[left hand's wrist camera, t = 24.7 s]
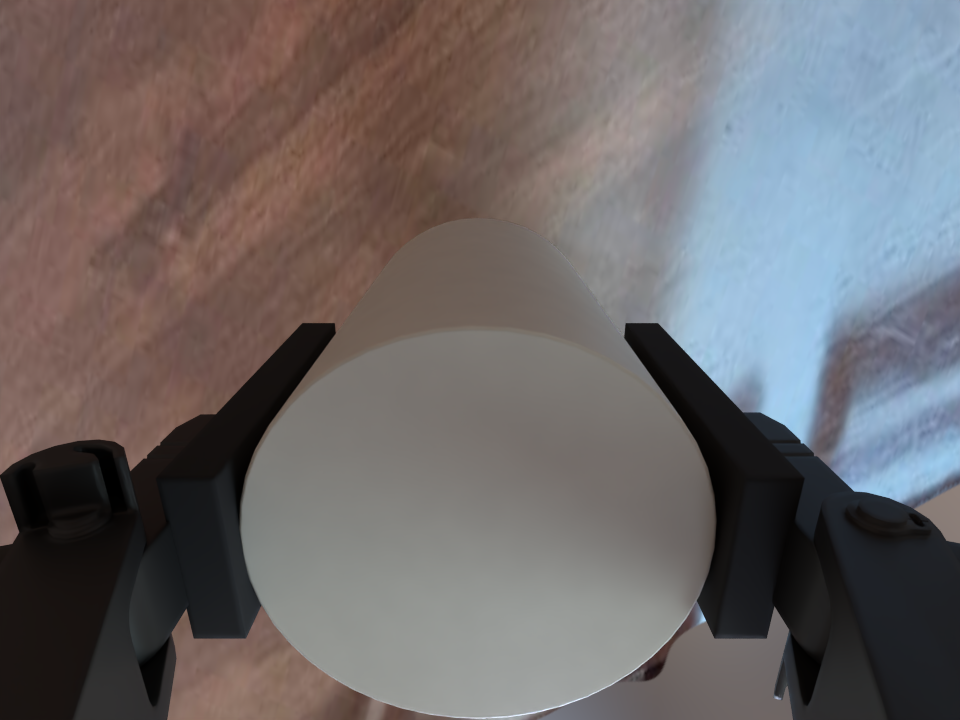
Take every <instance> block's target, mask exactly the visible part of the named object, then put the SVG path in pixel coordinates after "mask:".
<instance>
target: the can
mask: <svg viewBox="0 0 960 720" xmlns="http://www.w3.org/2000/svg"><path fill="white" fill-rule="evenodd" d="M716 522H717V519H716V508H715V496H714V491H713V487H712V483H711V479H710V475H709V471H708V467H707V465H706V463H705V461H704V458H703V456H702V454H701V451H700V449H699V447H698V444H697V442H696V441H695V439H694V437H693V436H692V434H691V433H690V431H689V430H688V428H687V426H686V425H685V423H684V422H683V420H682V419H681V417H680V416H679V414H678V413H677V412H676V410H675V409H674V407H673V406H672V405H671V403H670V402H669V400H668V399H667V398H666V396H665V395H664V393H663V392H662V391H661V389H660V388H659V386H658V385H657V384H656V382H655V381H654V379H653V378H652V377H651V375H650V374H649V372H648V371H647V370H646V368H645V367H644V365H643V364H642V363H641V361H640V360H639V358H638V357H637V356H636V354H635V353H634V351H633V350H632V349H631V347H630V346H629V344H628V343H627V342H626V340H625V339H624V337H623V336H622V335H621V333H620V332H619V330H618V329H617V327H616V326H615V325H614V323H613V322H612V320H611V319H610V318H609V316H608V315H607V313H606V312H605V311H604V309H603V308H602V306H601V305H600V304H599V302H598V301H597V299H596V298H595V297H594V295H593V294H592V292H591V291H590V290H589V288H588V287H587V285H586V284H585V283H584V281H583V280H582V278H581V277H580V276H579V274H578V273H577V271H576V270H575V269H574V267H573V266H572V264H571V263H570V262H569V261H568V260H567V258H566V257H565V256H564V255H563V254H562V253H561V251H559V250H558V249H557V248H556V247H555V246H554V245H553V244H552V243H550V242H549V241H548V240H546V239H545V238H543V237H542V236H540V235H539V234H537V233H536V232H533V231H531V230H529V229H527V228H525V227H523V226H520V225H517V224H514V223H511V222H508V221H503V220H497V219H491V218H469V219H460V220H455V221H451V222H446V223H443V224H441V225H438V226H435V227H433V228H430V229H428V230H426V231H425V232H423V233H421V234H419V235H417V236H416V237H414V238H413V239H412V240H410V241H409V242H408V243H406V244H405V245H404V246H403V247H402V248H401V249H400V250H399V251H398V252H397V253H395V254H394V256H393V257H392V258H391V259H390V261H389V262H388V263H387V265H386V266H385V267H384V268H383V270H382V271H381V273H380V274H379V275H378V277H377V278H376V279H375V281H374V282H373V284H372V285H371V286H370V288H369V289H368V290H367V292H366V293H365V294H364V296H363V297H362V299H361V300H360V301H359V303H358V304H357V305H356V307H355V308H354V310H353V311H352V312H351V314H350V315H349V316H348V318H347V319H346V320H345V322H344V323H343V325H342V326H341V327H340V329H339V330H338V331H337V333H336V334H335V336H334V337H333V338H332V340H331V341H330V342H329V344H328V345H327V346H326V348H325V349H324V351H323V352H322V353H321V355H320V356H319V357H318V359H317V360H316V362H315V363H314V364H313V366H312V367H311V368H310V370H309V371H308V372H307V374H306V375H305V377H304V378H303V379H302V381H301V382H300V383H299V385H298V386H297V388H296V389H295V390H294V392H293V393H292V394H291V396H290V397H289V398H288V400H287V401H286V403H285V404H284V405H283V407H282V408H281V409H280V411H279V412H278V414H277V415H276V416H275V418H274V419H273V420H272V422H271V423H270V424H269V426H268V428H267V430H266V431H265V433H264V435H263V437H262V438H261V440H260V442H259V444H258V445H257V447H256V449H255V451H254V454H253V456H252V459H251V462H250V464H249V467H248V470H247V472H246V475H245V479H244V485H243V490H242V495H241V500H240V519H239V530H240V536H241V542H242V548H243V553H244V559H245V564H246V568H247V573H248V576H249V580H250V582H251V584H252V586H253V588H254V591H255V593H256V595H257V597H258V599H259V601H260V603H261V605H262V607H263V608H264V610H265V611H266V613H267V614H268V616H269V617H270V619H271V621H272V622H273V624H274V625H275V626H276V627H277V629H278V630H279V631H280V632H281V633H282V634H283V636H284V637H285V638H286V639H287V640H288V642H289V643H290V644H291V645H292V646H293V647H294V648H296V649H297V650H298V651H299V652H300V653H301V654H302V655H303V656H304V657H305V658H306V659H307V660H309V661H310V662H311V663H312V664H314V665H315V666H317V667H318V668H319V669H321V670H322V671H323V672H325V673H326V674H328V675H329V676H330V677H332V678H334V679H336V680H337V681H339V682H341V683H343V684H344V685H346V686H348V687H350V688H351V689H353V690H355V691H358V692H360V693H362V694H364V695H367V696H369V697H371V698H373V699H376V700H378V701H381V702H384V703H387V704H391V705H394V706H397V707H400V708H403V709H407V710H412V711H416V712H421V713H425V714H431V715H439V716H447V717H455V718H498V717H511V716H518V715H524V714H531V713H536V712H540V711H544V710H548V709H552V708H556V707H560V706H563V705H566V704H569V703H572V702H574V701H577V700H580V699H583V698H585V697H588V696H590V695H592V694H594V693H596V692H598V691H600V690H602V689H604V688H606V687H609V686H611V685H612V684H614V683H615V682H617V681H619V680H620V679H622V678H624V677H625V676H627V675H628V674H630V673H632V672H633V671H634V670H636V669H637V668H638V667H639V666H641V665H642V664H643V663H645V662H646V661H647V660H648V659H650V658H651V657H652V656H653V655H654V654H655V653H656V652H657V651H658V650H659V649H660V648H661V647H662V646H663V645H664V644H665V643H666V642H667V641H668V640H669V639H670V638H671V637H672V636H673V635H674V633H675V632H676V631H677V629H678V628H679V627H680V626H681V624H682V623H683V622H684V621H685V619H686V618H687V616H688V614H689V613H690V611H691V609H692V608H693V606H694V604H695V602H696V601H697V599H698V597H699V595H700V593H701V590H702V588H703V585H704V583H705V580H706V578H707V576H708V573H709V569H710V565H711V561H712V556H713V552H714V548H715V535H716Z"/></svg>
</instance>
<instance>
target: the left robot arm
mask: <svg viewBox="0 0 960 720" xmlns="http://www.w3.org/2000/svg"><path fill="white" fill-rule="evenodd" d="M335 334H336V332H335V323H302V324H301V325H300V326H299V327H298V328H297V330H296V331H295V332H294V333H293V334H292V335H291V336H290V337H289V338H288V339H287V340H286V341H285V342H284V343H283V344H282V345H281V346H280V347H279V349H278V350H277V351H276V352H275V353H274V354H273V355H272V356H271V357H270V358H269V359H268V360H267V361H266V362H265V363H264V364H263V365H262V366H261V367H260V369H259V370H258V371H257V372H256V373H255V374H254V375H253V376H252V377H251V378H250V379H249V380H248V381H247V382H246V383H245V384H244V385H243V386H242V387H241V389H240V390H239V391H238V392H237V393H236V394H235V395H234V396H233V397H232V398H231V399H230V400H229V401H228V402H227V403H226V404H225V405H224V406H223V407H222V409H221V410H220V411H219V412H218V413H217V414H208V415H199V416H197V417H195V418H193V419H191V420H189V421H188V422H186V423H184V424H182V425H180V426H178V427H176V428H175V429H174V430H173V431H172V432H171V433H170V434H169V435H168V436H167V437H166V438H165V439H164V440H163V441H162V442H161V444H160V446H156V447H155V448H154V449H153V450H152V451H151V452H150V453H149V454H148V455H147V459H143V460H142V461H141V462H140V463H139V464H138V465H137V466H136V467H135V468H133V469H132V470H131V471H130V469H129V466H128V462H127V458H126V454H125V450H124V447H122V446H121V445H119V444H117V443H116V442H112V441H105V440H86V441H76V442H71V443H67V444H62V445H57V446H54V447H51V448H48V449H45V450H42V451H39V452H37V453H34V454H31V455H29V456H28V457H26V458H24V459H22V460H20V461H18V462H16V463H14V464H12V465H11V466H10V467H9V468H8V469H7V470H6V471H4V472H3V473H2V474H1V475H0V478H1V481H2V484H3V487H4V490H5V493H6V496H7V498H8V501H9V504H10V507H11V510H12V513H13V515H14V518H15V521H16V524H17V527H18V530H19V534H18V536H17V537H16V539H15V541H14V542H13V544H10V545H5V546H0V720H167V717H168V711H169V704H170V697H171V691H172V684H173V678H174V671H175V665H176V652H175V645H174V641H173V637H172V634H171V632H172V631H173V629H174V628H175V626H176V624H177V623H178V621H179V619H180V618H181V616H182V615H183V613H184V611H185V610H186V608H187V612H188V616H189V620H190V624H191V629H192V633H193V637H194V638H246V637H247V635H248V633H249V631H250V628H251V626H252V624H253V622H254V620H255V618H256V616H257V613H258V611H259V609H260V607H261V603H260V601H259V599H258V597H257V595H256V593H255V591H254V588H253V586H252V584H251V582H250V580H249V576H248V573H247V568H246V564H245V559H244V553H243V548H242V542H241V536H240V530H239V519H240V500H241V495H242V490H243V485H244V479H245V475H246V472H247V470H248V467H249V464H250V462H251V459H252V456H253V454H254V451H255V449H256V447H257V445H258V444H259V442H260V440H261V438H262V437H263V435H264V433H265V431H266V430H267V428H268V426H269V424H270V423H271V422H272V420H273V419H274V418H275V416H276V415H277V414H278V412H279V411H280V409H281V408H282V407H283V405H284V404H285V403H286V401H287V400H288V398H289V397H290V396H291V394H292V393H293V392H294V390H295V389H296V388H297V386H298V385H299V383H300V382H301V381H302V379H303V378H304V377H305V375H306V374H307V372H308V371H309V370H310V368H311V367H312V366H313V364H314V363H315V362H316V360H317V359H318V357H319V356H320V355H321V353H322V352H323V351H324V349H325V348H326V346H327V345H328V344H329V342H330V341H331V340H332V338H333V337H334V336H335ZM624 339H625V340H626V342H627V343H628V344H629V346H630V347H631V349H632V350H633V351H634V353H635V354H636V356H637V357H638V358H639V360H640V361H641V363H642V364H643V365H644V367H645V368H646V370H647V371H648V372H649V374H650V375H651V377H652V378H653V379H654V381H655V382H656V384H657V385H658V386H659V388H660V389H661V391H662V392H663V393H664V395H665V396H666V398H667V399H668V400H669V402H670V403H671V405H672V406H673V407H674V409H675V410H676V412H677V413H678V414H679V416H680V417H681V419H682V420H683V422H684V423H685V425H686V426H687V428H688V430H689V431H690V433H691V434H692V436H693V437H694V439H695V441H696V442H697V444H698V447H699V449H700V451H701V454H702V456H703V458H704V461H705V463H706V465H707V467H708V471H709V475H710V479H711V483H712V487H713V491H714V496H715V508H716V519H717V522H716V535H715V548H714V552H713V556H712V561H711V565H710V569H709V573H708V576H707V578H706V580H705V583H704V585H703V588H702V590H701V593H700V595H699V597H698V599H697V602H698V604H699V606H700V608H701V610H702V613H703V615H704V617H705V619H706V621H707V623H708V625H709V628H710V630H711V632H712V634H713V636H714V638H759V639H763V638H765V639H766V638H767V635H768V630H769V626H770V622H771V618H772V614H773V610H774V606H775V608H776V609H777V611H778V612H779V614H780V616H781V617H782V619H783V620H784V622H785V624H786V625H787V627H788V628H789V634H788V637H787V642H786V645H785V649H784V653H783V657H782V661H781V665H780V669H779V673H778V677H777V681H776V684H775V691H774V698H776V699H780V700H782V699H783V695H784V691H785V688H786V687H787V686H788V689H789V696H790V702H791V709H792V716H793V720H960V543H955V542H949V541H946V539H945V538H944V536H943V535H942V533H941V531H940V530H939V529H938V528H937V527H936V526H935V525H934V524H933V523H932V522H931V521H930V519H928V518H927V517H925V516H924V515H922V514H920V513H919V512H917V511H916V510H914V509H913V508H911V507H909V506H906V505H904V504H902V503H899V502H897V501H894V500H892V499H890V498H886V497H882V496H878V495H874V494H870V493H865V492H854V491H853V490H852V489H851V488H850V487H849V486H848V485H847V484H846V483H845V482H844V481H843V480H842V479H840V478H839V477H838V476H837V475H836V474H835V473H834V472H833V471H832V470H831V469H830V468H829V467H828V466H827V465H826V464H825V463H824V462H823V461H822V460H820V459H819V458H818V457H817V456H814V453H813V452H812V451H811V450H810V449H809V448H808V447H807V446H806V445H805V444H801V442H800V440H799V439H798V438H797V437H796V436H795V435H794V434H793V433H792V432H791V431H790V430H789V429H788V428H787V427H786V426H785V425H783V424H781V423H779V422H777V421H775V420H773V419H771V418H769V417H768V416H766V415H764V414H762V413H743V412H742V411H741V410H740V409H739V408H738V407H737V406H736V405H735V404H734V403H733V402H732V401H731V400H730V399H729V398H728V396H727V395H726V394H725V393H724V392H723V391H722V390H721V389H720V388H719V387H718V386H717V385H716V384H715V383H714V382H713V381H712V380H711V379H710V378H709V376H708V375H707V374H706V373H705V372H704V371H703V370H702V369H701V368H700V367H699V366H698V365H697V364H696V363H695V362H694V361H693V360H692V359H691V358H690V356H689V355H688V354H687V353H686V352H685V351H684V350H683V349H682V348H681V347H680V346H679V345H678V344H677V343H676V342H675V341H674V340H673V339H672V338H671V336H670V335H669V334H668V333H667V332H666V331H665V330H664V329H663V328H662V327H661V326H660V325H659V324H658V323H626V325H625V336H624Z"/></svg>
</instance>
